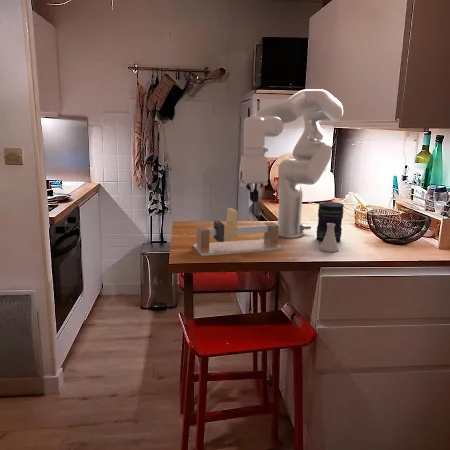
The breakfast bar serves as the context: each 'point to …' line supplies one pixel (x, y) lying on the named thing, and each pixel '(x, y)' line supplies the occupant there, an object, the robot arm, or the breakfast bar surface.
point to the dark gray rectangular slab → (219, 231)
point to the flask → (329, 240)
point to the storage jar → (329, 219)
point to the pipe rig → (238, 246)
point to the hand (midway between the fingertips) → (254, 201)
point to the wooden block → (231, 225)
